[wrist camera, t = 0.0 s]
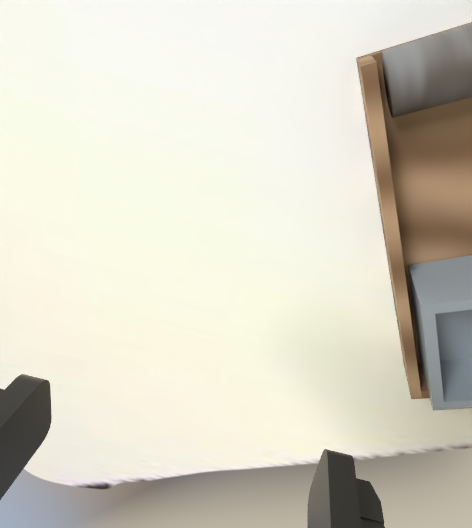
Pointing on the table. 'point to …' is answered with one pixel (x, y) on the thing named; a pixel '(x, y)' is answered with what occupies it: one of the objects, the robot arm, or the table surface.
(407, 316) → the bay
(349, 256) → the table surface
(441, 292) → the tray with upright post
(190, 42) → the table surface
